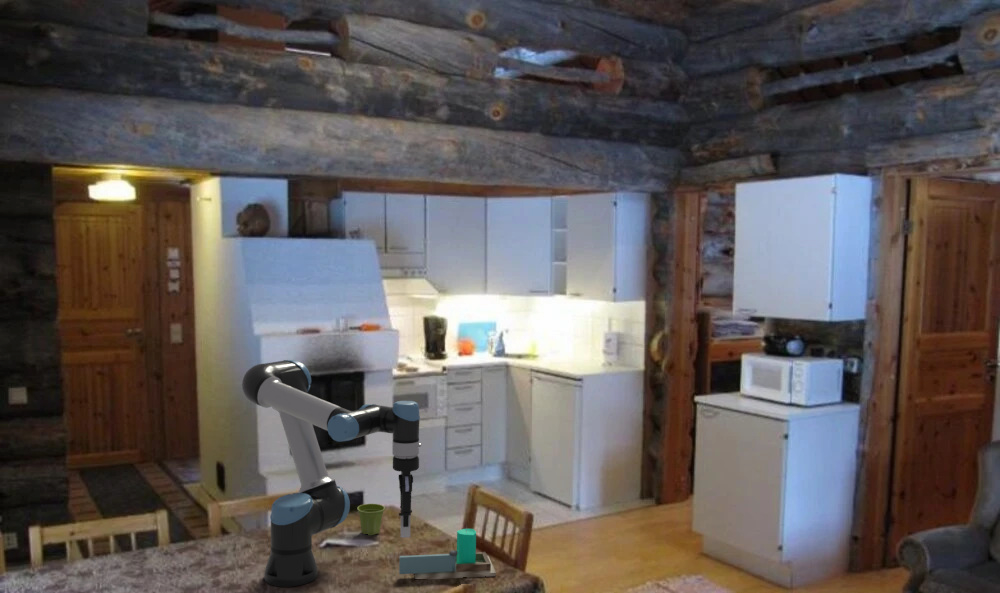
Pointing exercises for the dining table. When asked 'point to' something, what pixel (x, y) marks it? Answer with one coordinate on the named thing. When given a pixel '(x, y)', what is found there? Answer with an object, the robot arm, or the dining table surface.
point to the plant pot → (370, 518)
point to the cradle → (464, 569)
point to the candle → (466, 546)
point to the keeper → (428, 563)
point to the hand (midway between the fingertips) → (405, 536)
